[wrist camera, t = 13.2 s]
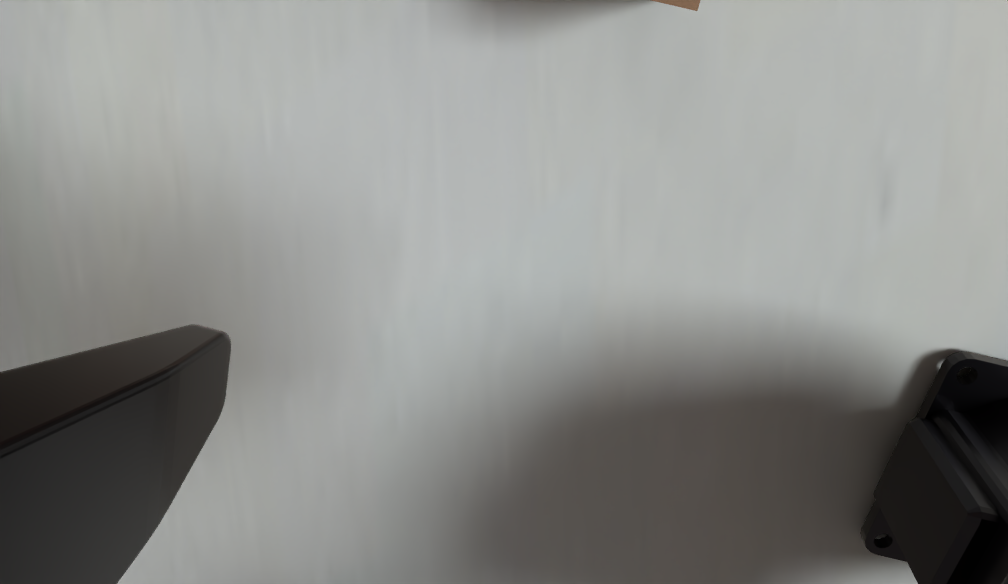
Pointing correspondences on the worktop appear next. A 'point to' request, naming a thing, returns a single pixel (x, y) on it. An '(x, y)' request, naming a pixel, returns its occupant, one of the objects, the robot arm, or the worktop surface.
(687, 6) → the bent channel
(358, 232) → the worktop surface
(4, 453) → the robot arm
